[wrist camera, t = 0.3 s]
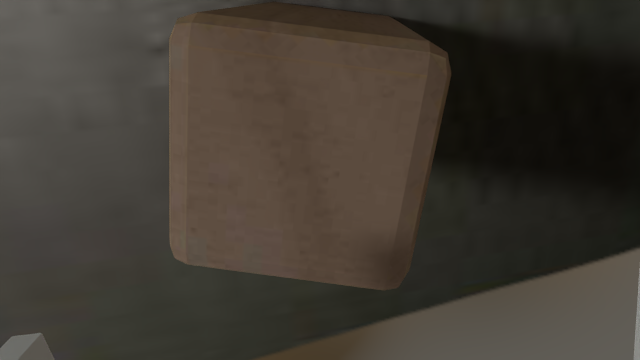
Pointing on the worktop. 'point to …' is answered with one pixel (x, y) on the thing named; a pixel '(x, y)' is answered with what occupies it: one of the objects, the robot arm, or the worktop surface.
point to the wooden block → (301, 141)
